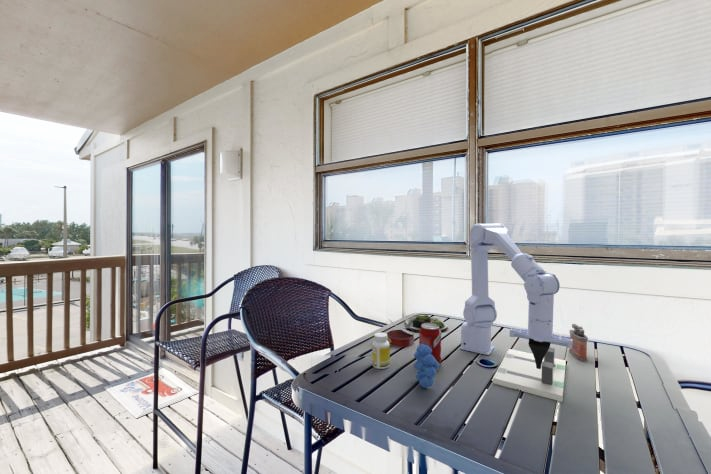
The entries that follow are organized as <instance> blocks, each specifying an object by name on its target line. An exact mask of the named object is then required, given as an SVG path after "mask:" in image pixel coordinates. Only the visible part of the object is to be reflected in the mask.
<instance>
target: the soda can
mask: <svg viewBox="0 0 711 474" xmlns="http://www.w3.org/2000/svg"><path fill="white" fill-rule="evenodd" d="M420 344H424V345H427V346H429V347H430V348H431V350H432V352H431V355H433V357H434V358H435V359H436V361H437V362H438V363H439V364H440V365H441V364H442V332H441V331H440V329H439V325H437V324H433V323H432V322H431V323H424V324H422V325H421V328H420V330H419V332H418V346H419V345H420Z"/></svg>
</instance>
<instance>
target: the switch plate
mask: <svg viewBox="0 0 711 474" xmlns="http://www.w3.org/2000/svg"><path fill="white" fill-rule="evenodd" d="M543 361H544V358H543ZM543 361H542V364H543ZM566 362H567V361H566V360H565V359H560V358H557V357H554V367H553V383H552V385H550V384H546V383H542V364H541V369H537V368H536V362H535V359H534V356H533V353H532V352H525V351H522V350H517V349H511V348H508V349H507V351H506V354H505V355H504V357H503V359H502V361H501V363H500V364H499V366H498V368H497V369H496V372H495V374H494V375H493V376H492V377H493V378H492V383H493V384H494V385H498V386H502V387H506V388H508V389H513V388H514V389H513V390H516V389H519V390H518V391H520V390H521V391H520V392H524V393H528V394H532V395H535V396H539V397H543V398H547V399H550V400H554V401H558V402H561V403H563V401H564V400H563V397H564V388H565V379H566V378H565V377H566V367H567V363H566Z"/></svg>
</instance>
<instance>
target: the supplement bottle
mask: <svg viewBox="0 0 711 474" xmlns="http://www.w3.org/2000/svg"><path fill="white" fill-rule="evenodd" d="M373 337H374V338H373V339H374V340H373V341H372V343H371V344H372V345H371V348H372V349H371V351H372V354H371V356H372V357H371V361H372V364H371V365H372V366H373V368H375V369H379V370H384V369H388V368H389V367H390V365H391V364H390V361H391V359H390V355H391V354H390V351H391V350H390V344H389V342H388V341H387V333H386V332H380V331H379V332H376V333H374V336H373Z"/></svg>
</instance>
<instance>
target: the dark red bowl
mask: <svg viewBox="0 0 711 474" xmlns="http://www.w3.org/2000/svg"><path fill="white" fill-rule="evenodd" d="M388 320H389V321H390V323H392V324H393V325H394V326H395V327H397V328H398V329H394V330H390V331H388V332H387V333H386V334H387V341H388V342H389V345H391V346H392V347H397V348H399V347H400V348H405V347H406V348H407V347H411V346H413V345H414V344H415V343H414V339H415V334H414V333H413V331H412V332H411V331H410V330H407V328H406V329H405V328H403V327H401V326H399V325H397V324H395V323H394V322H393V321H392V320H391V319H390V318H389V319H388Z"/></svg>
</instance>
